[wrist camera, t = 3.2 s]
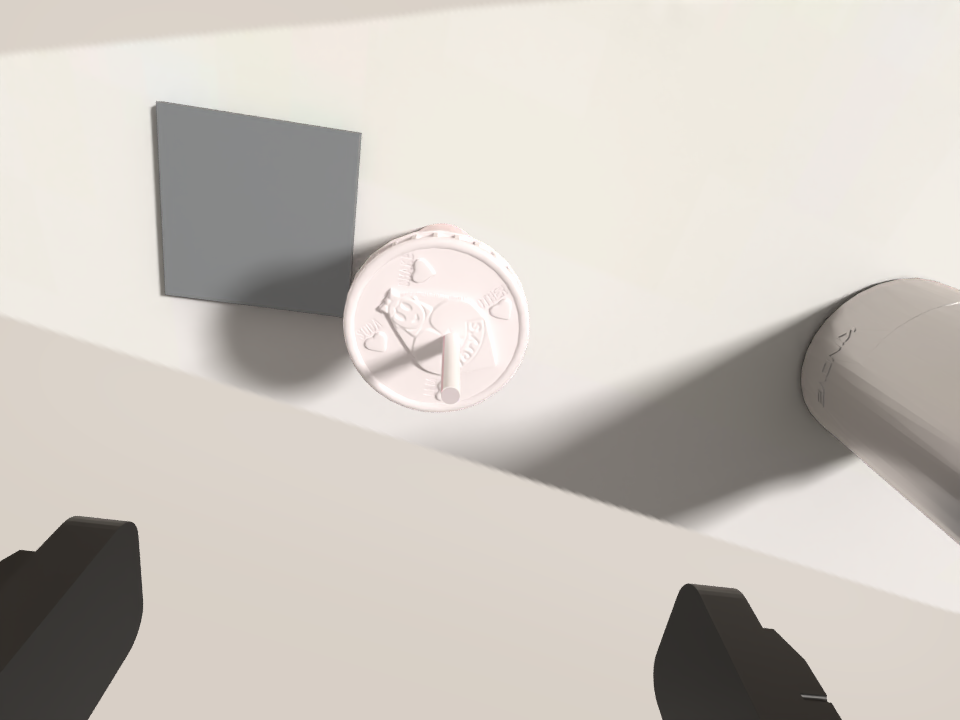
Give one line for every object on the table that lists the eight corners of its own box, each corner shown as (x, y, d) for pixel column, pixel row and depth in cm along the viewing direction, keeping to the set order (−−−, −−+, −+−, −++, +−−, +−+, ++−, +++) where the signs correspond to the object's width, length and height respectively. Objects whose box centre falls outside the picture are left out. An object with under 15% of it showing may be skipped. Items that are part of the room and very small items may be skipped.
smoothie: (462, 347, 31) (467, 520, 18) (350, 281, 29) (270, 419, 17) (534, 242, 29) (598, 351, 16) (419, 165, 27) (388, 219, 15)
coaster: (361, 132, 27) (359, 133, 26) (348, 313, 30) (346, 317, 29) (162, 101, 26) (156, 101, 25) (170, 290, 29) (165, 294, 29)
